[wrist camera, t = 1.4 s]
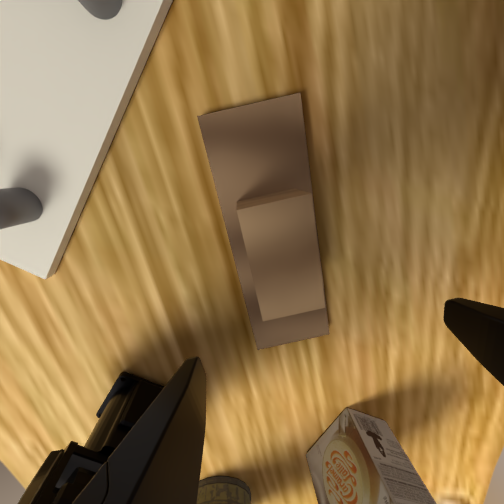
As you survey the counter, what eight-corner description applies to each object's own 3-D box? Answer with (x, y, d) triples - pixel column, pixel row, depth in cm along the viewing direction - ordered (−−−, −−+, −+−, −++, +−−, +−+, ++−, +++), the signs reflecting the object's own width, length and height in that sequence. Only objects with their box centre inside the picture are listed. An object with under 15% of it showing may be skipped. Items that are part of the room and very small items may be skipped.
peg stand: (54, 274, 19) (-5, 307, 15) (-88, 209, 17) (-212, 224, 12) (193, -49, 13) (171, -167, 9) (7, -215, 11) (-162, -501, 6)
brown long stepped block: (323, 324, 23) (348, 367, 18) (256, 339, 24) (262, 386, 18) (294, 99, 17) (321, 66, 12) (200, 120, 17) (184, 98, 12)
